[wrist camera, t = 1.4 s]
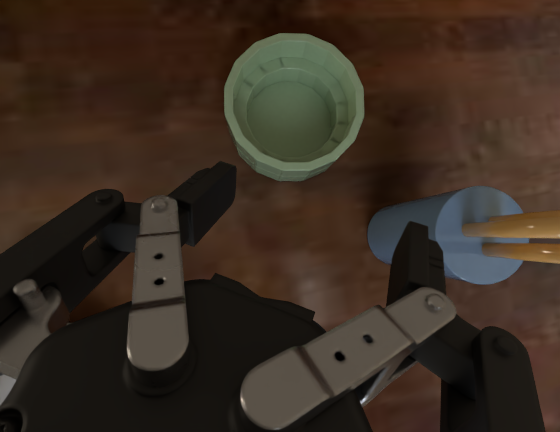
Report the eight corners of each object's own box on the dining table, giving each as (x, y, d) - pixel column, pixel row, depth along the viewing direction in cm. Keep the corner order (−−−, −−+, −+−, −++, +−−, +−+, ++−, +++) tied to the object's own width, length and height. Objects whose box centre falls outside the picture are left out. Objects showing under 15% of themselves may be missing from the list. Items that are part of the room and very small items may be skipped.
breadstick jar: (366, 205, 31) (531, 157, 12) (424, 204, 32) (672, 158, 13) (368, 266, 31) (542, 315, 12) (427, 265, 31) (686, 310, 12)
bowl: (229, 66, 31) (223, 30, 26) (344, 69, 32) (362, 35, 26) (230, 182, 30) (224, 170, 25) (347, 181, 31) (366, 170, 26)
